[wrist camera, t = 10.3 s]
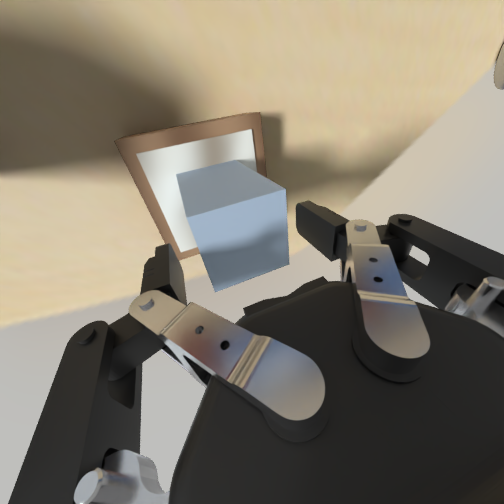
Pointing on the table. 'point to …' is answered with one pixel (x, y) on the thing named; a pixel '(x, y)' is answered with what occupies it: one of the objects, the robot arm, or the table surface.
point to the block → (235, 221)
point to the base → (187, 166)
